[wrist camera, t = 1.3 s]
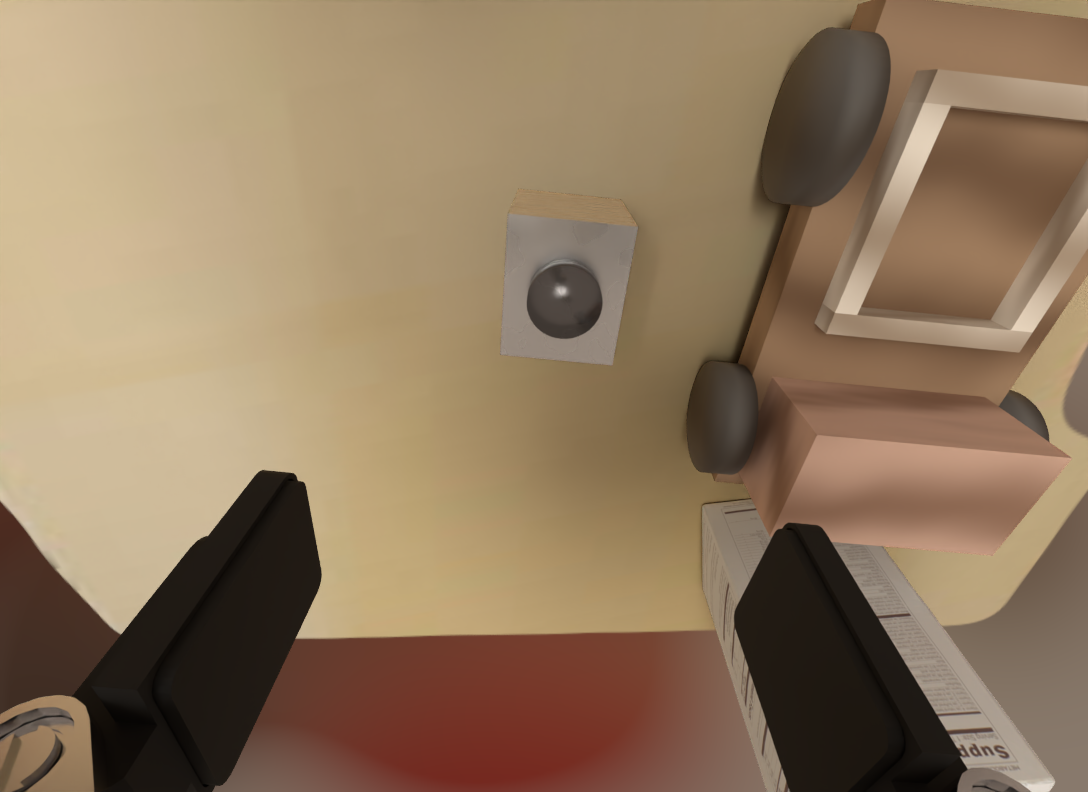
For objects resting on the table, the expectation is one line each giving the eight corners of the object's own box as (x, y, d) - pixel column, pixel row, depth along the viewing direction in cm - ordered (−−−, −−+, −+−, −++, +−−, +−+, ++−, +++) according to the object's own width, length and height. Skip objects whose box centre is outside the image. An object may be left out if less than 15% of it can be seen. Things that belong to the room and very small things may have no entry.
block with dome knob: (518, 188, 24) (505, 219, 18) (620, 199, 24) (642, 233, 18) (511, 305, 27) (497, 365, 21) (601, 314, 27) (614, 376, 21)
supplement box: (699, 588, 39) (784, 881, 24) (698, 501, 34) (803, 799, 20) (828, 577, 38) (996, 875, 23) (845, 485, 33) (1069, 787, 19)
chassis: (802, 6, 20) (942, -46, 13) (1181, 50, 21) (1523, 25, 13) (676, 442, 31) (712, 546, 24) (922, 464, 32) (1030, 573, 25)
